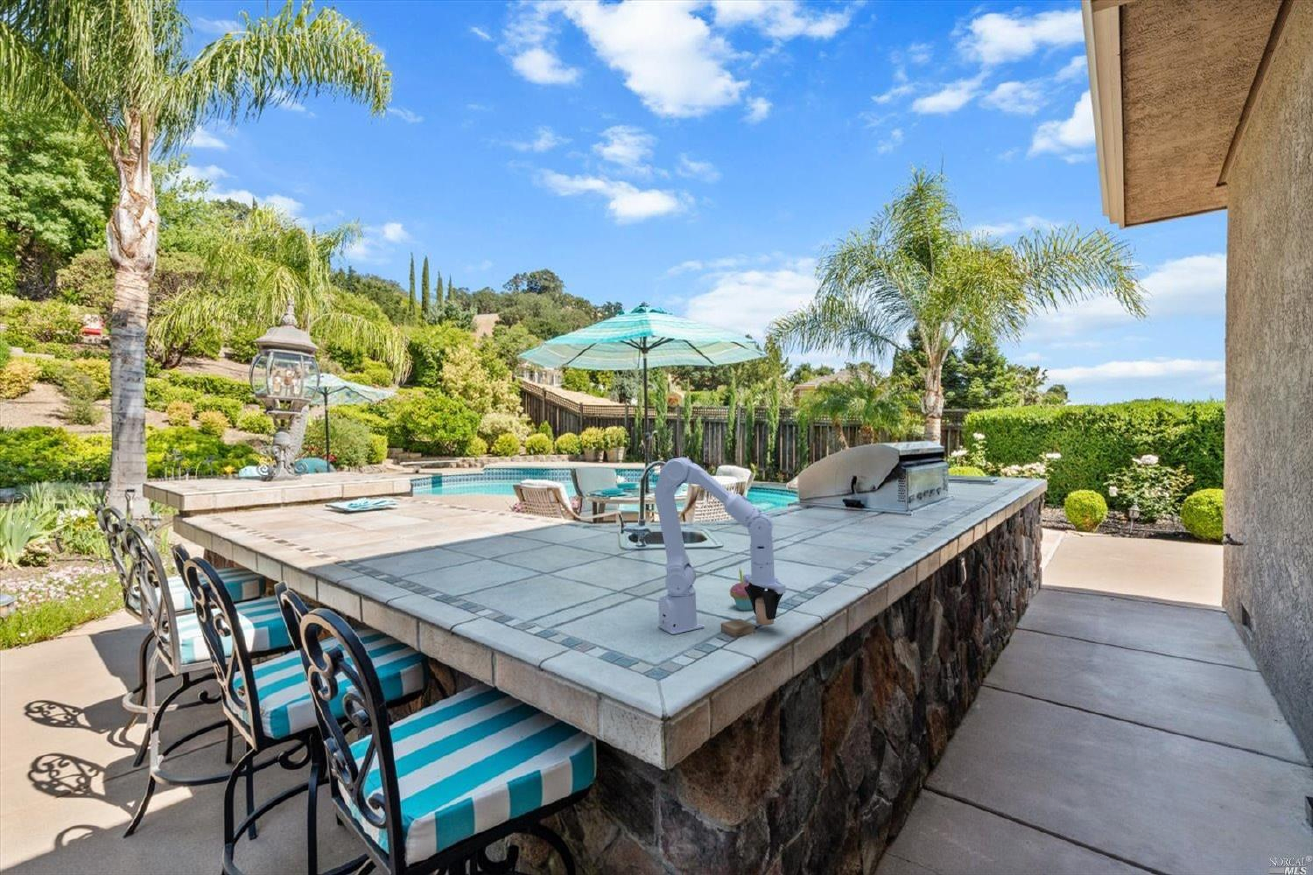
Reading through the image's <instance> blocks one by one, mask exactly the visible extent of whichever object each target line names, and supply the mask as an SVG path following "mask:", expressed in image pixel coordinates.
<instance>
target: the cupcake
mask: <svg viewBox="0 0 1313 875" xmlns="http://www.w3.org/2000/svg"><path fill="white" fill-rule="evenodd" d="M738 568H739V570H738V573H739V582H738V583H735V584H734V585H732V586H731V588H730V589H729V595H730V597H731V598H733V600H734V602H735V605H736V607H737V609H738V610H741V611H751V610H753V607H752V604H751V601H750V598H749V596H748V594H747V592H746V591H745V587H746V586H748V585H749V583H744V582H743V572H742V569H741V567H738Z"/></svg>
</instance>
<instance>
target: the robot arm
mask: <svg viewBox="0 0 1313 875" xmlns="http://www.w3.org/2000/svg"><path fill="white" fill-rule="evenodd" d="M684 483H685V484H687V485H688V484H689V485H696V486H697V485H698V486H700V487H701V488H702V489H704V490H705V491H706V492H708V493H709V494H710V495H711V496H713V497H714V498H715V499H717V500H718V501H719V502H721V503H722V504H723V507H724V512H725V513H727V514H728V515H729V516H730V517H731V518H733V520H735V521H736V522H738V523H739V524H740V525H741V526H742V527H743V528H747V531H748V534H749V536H750V544H749V545H750V546H749V550H750V568H751V570H750V571H751V572H750V573H751V574H750V573H747V574H742V578H743V582H744V583H749V585H748V586H746V587H745V591H746V592H747V594H748V596H749V598H750V601H751V604H752V607H753V609H752V610H753V614H754V615H755V616H756V606H755V601H756V598H757V597H763V600H764V604H765V610H766V617H767V619H768V620H771V619H774V620H775V619H776V617H777V612H778V611H777V610H778V607H779V604H780V601H781V599H782V597H783V596H784V594H786V584H784V583H782V582H780V581H778V579H779V578H778V577H776V576H775V556H774V544H773V533H772V532H773V527H774V523H773V520H772V518H771V517H770V516H769V514H768V513H766V512H763V510H762V508H760V507H759V508H756V506H754V504H753V503H751V502H750V501H748V500H747V499H748V497H747V496H746V495H745V494H742V495H741V494H740V493H734V494H733V493H731V492H730V491H729V490H727V488H726V487H724V485H722V484H721V483H720V482H718V480H716V479H715V478H714V477H713V476H711V475H710V474H709V473H708V472H707V471H706V470H705V469H704V468H702V467H701V466H700V465H699V464H697V463H695V462H692V460H691V459H690V458H687V457H685V456H681V457H677V458H671V459H669V460H668V461H666V463H665V464H663V466H661V468H660V472H659V476H658V479H657V481H656V484H655V487H654V491H653V492H654V493H653V494H654V500H655V503H656V509H657V514H658V519H659V523H660V529H661V534H662V538H663V539H662V540H663V544H664V548H665V549H664V550H665V553H666V565H665V570H666V576H665V587H666V590H667V593H666V594H665V595H663V596H660V598H659V599H658V622H659V624H658V625H657V626H658V628H660V629H662V630H664V631H665V632H667V633H669V634H671V635H677V634H681V633H682V634H683V633H685V632H690V631H693V630H698V629H699V630H700V629H702V628H704V627H705V626H704V624H702V623H699V621H698V616H697V615H698V613H697V597H696V596H697V595H696V589H695V588H694V585H693V584H695V581H696V578H697V573H696V570H695V568H694V567H693V566H692V564H691V561H690V557H689V556H688V554H687V553H686V547H685V543H684V538H683V533H682V526H681V523H680V522H681V521H680V517H679V512H678V507H677V503H676V498H675V494H676V493H677V492H678V490H679V489H680V487H681V486H682V485H683V484H684ZM766 589H767V590H766Z"/></svg>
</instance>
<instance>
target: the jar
mask: <svg viewBox="0 0 1313 875" xmlns="http://www.w3.org/2000/svg"><path fill="white" fill-rule="evenodd" d="M755 606H756V615H755V622H756V624H757V625H760V626H772V625H774V624H775V619H771V620H768V619H767V617H766V610H765V604H764V600H763V597H757V598H756V601H755Z"/></svg>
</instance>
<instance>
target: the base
mask: <svg viewBox="0 0 1313 875" xmlns="http://www.w3.org/2000/svg"><path fill="white" fill-rule="evenodd" d="M720 632H722V633H724V634H726V635H729V636H731V637H733V638H734V639H735V638H740V637H743V636H748V635H752V634H754V633H756V630H755V623H754V624H753V623H751V622H749V621H747V620H744V619H741V618H737V619H734V620H733V619H732V620H729V621H724V622H720Z"/></svg>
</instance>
